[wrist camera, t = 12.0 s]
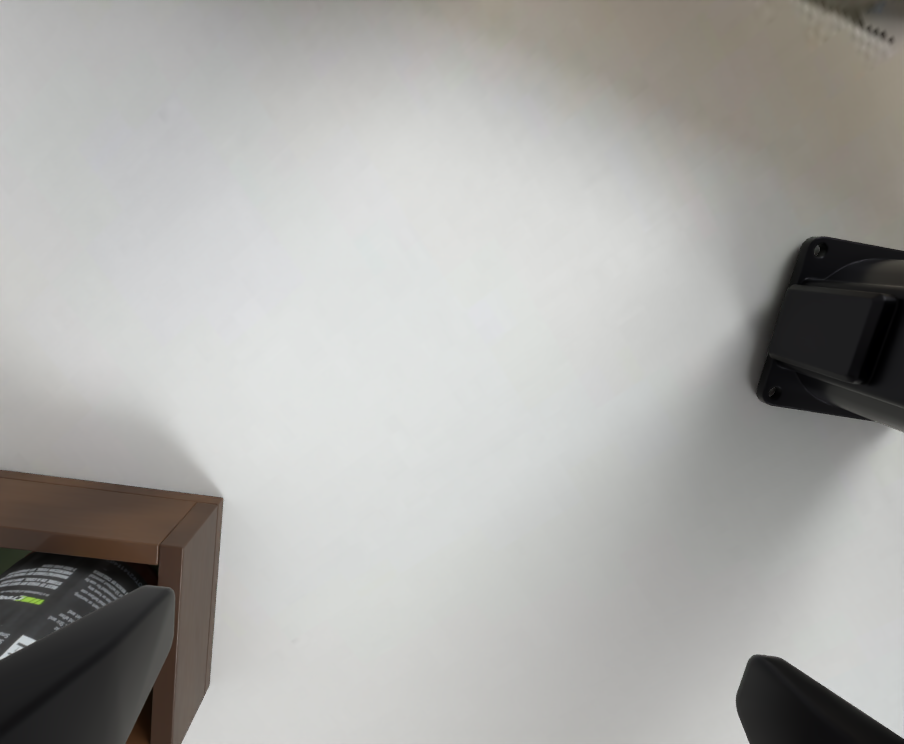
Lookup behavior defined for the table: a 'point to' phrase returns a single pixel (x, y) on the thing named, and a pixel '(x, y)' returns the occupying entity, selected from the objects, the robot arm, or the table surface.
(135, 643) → the robot arm
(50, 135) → the table surface
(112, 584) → the supplement bottle
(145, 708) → the wooden square tray
